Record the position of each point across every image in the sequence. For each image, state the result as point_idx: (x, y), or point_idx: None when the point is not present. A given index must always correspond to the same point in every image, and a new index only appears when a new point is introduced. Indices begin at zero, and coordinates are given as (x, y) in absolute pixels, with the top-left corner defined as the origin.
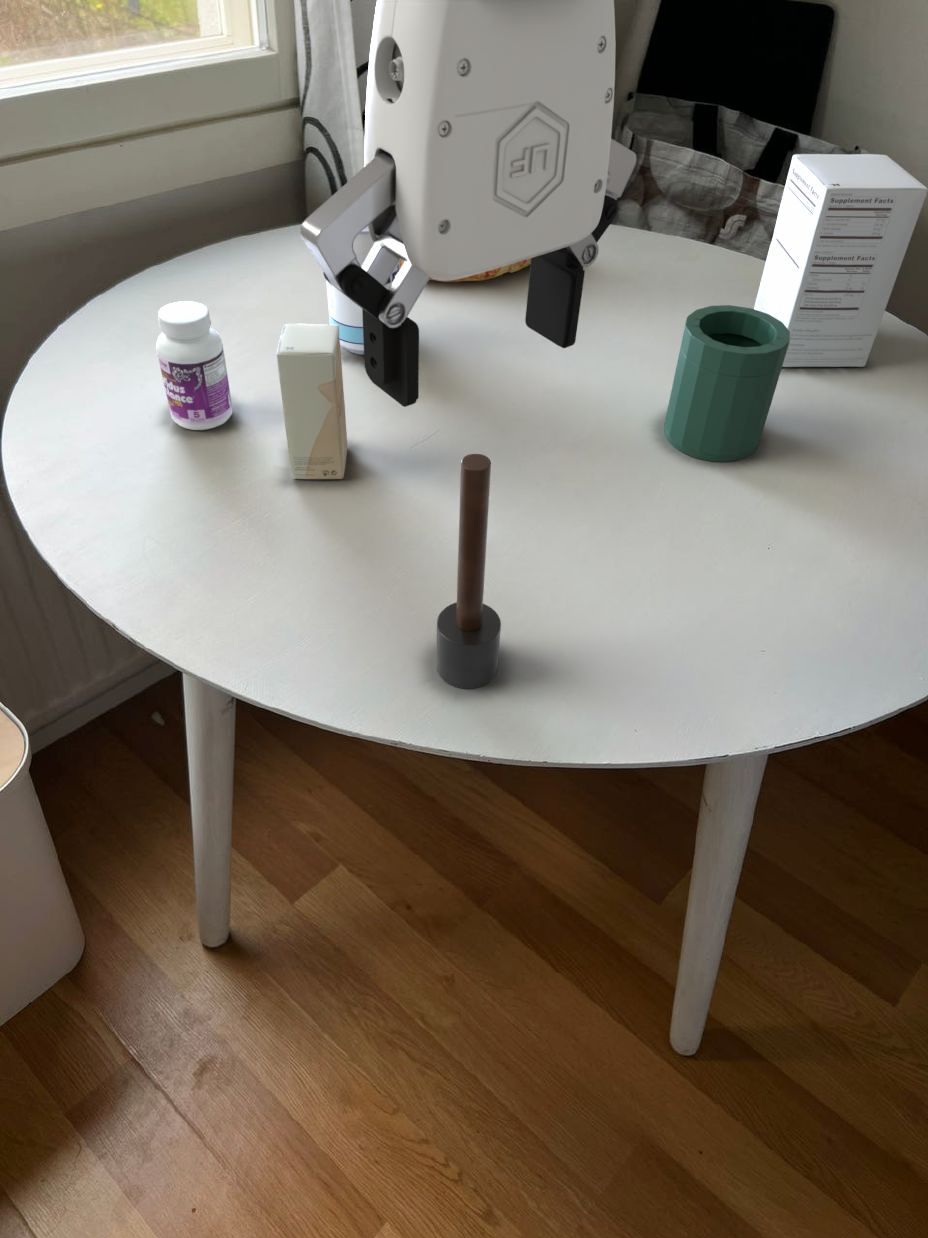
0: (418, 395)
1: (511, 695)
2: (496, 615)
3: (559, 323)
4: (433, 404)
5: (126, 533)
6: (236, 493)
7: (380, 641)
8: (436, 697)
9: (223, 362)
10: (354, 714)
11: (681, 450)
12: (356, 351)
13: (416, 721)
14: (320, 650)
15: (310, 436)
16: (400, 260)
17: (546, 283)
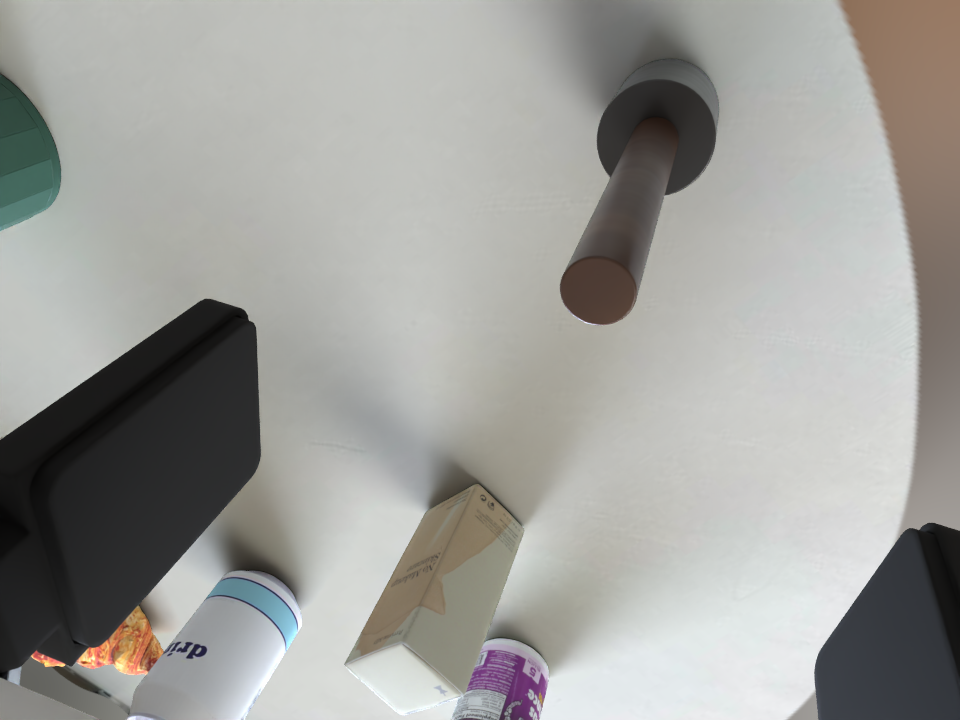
0: (919, 536)
1: (673, 7)
2: (608, 113)
3: (208, 381)
4: (280, 475)
5: (747, 619)
6: (594, 564)
7: (705, 254)
8: (756, 106)
9: (465, 706)
10: (869, 186)
11: (56, 154)
12: (291, 594)
13: (824, 96)
14: (778, 311)
15: (484, 560)
16: (141, 642)
17: (136, 527)
